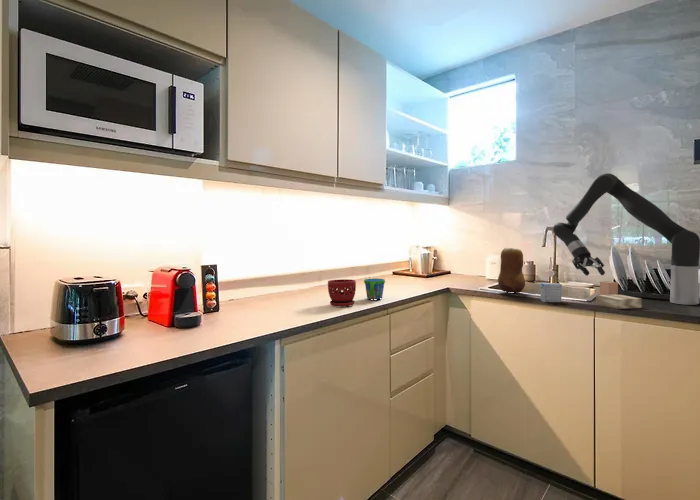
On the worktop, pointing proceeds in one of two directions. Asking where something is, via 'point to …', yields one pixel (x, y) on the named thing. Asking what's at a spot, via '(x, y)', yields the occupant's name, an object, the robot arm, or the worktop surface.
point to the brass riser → (619, 301)
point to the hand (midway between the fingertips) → (595, 274)
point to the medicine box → (551, 292)
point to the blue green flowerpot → (374, 288)
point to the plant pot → (345, 296)
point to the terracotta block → (608, 288)
